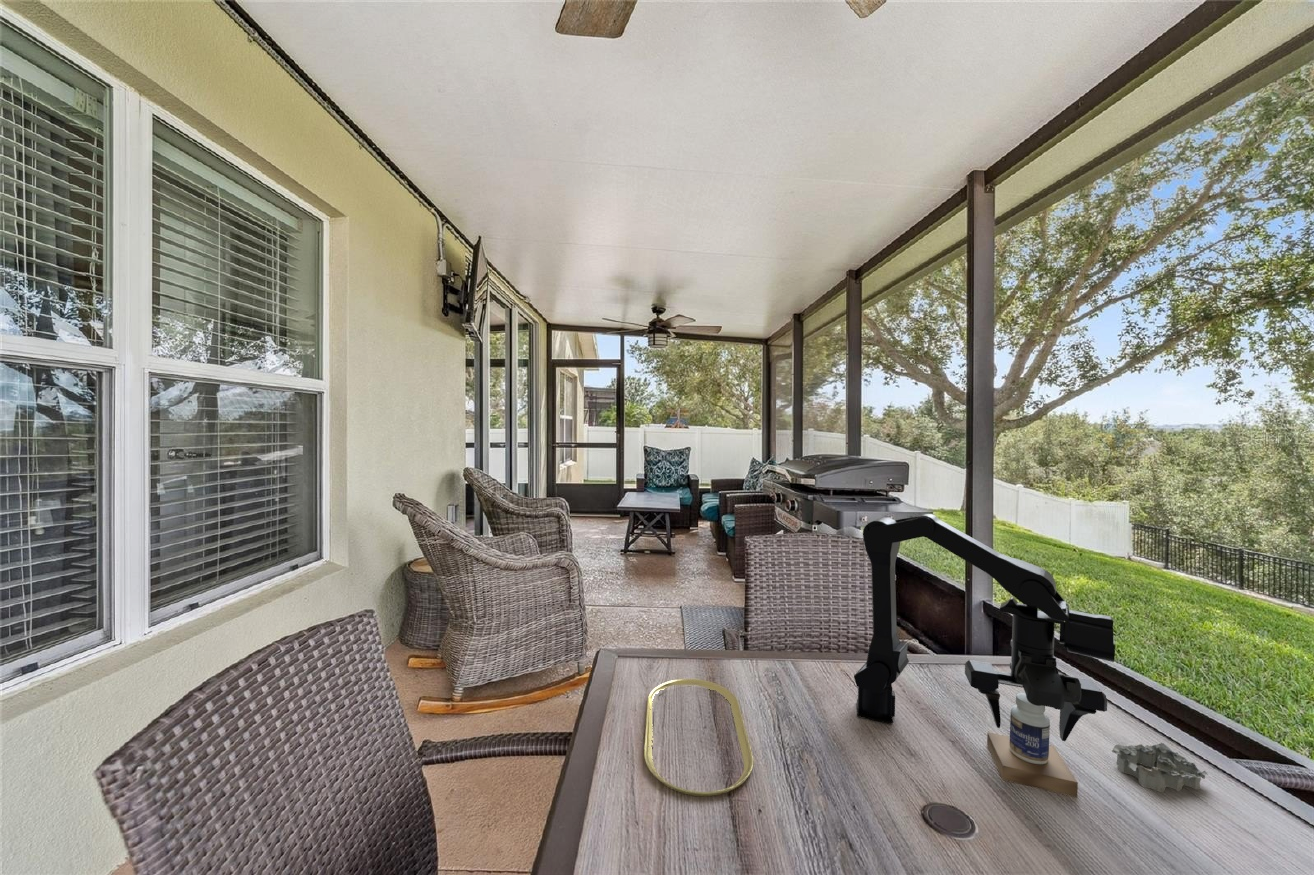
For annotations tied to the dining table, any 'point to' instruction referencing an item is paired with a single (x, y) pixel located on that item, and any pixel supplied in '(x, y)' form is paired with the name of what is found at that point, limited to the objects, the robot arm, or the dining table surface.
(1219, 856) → the dining table surface
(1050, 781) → the tan slab
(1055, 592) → the robot arm
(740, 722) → the oval ring
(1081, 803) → the dining table surface
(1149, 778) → the egg carton
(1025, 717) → the pill bottle
